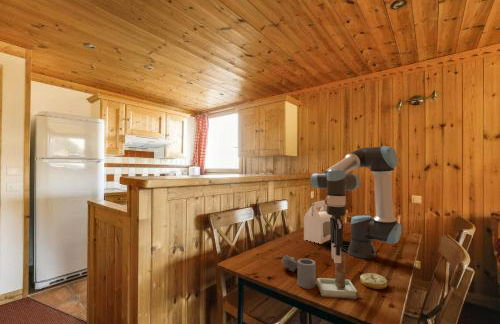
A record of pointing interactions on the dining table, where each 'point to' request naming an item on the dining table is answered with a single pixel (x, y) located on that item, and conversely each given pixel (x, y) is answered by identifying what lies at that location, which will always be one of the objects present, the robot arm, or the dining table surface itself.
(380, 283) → the decorated donut
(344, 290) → the sage tray
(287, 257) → the fossil
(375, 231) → the robot arm
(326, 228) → the gable box
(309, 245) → the dining table surface
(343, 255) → the walnut dowel
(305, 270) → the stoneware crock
